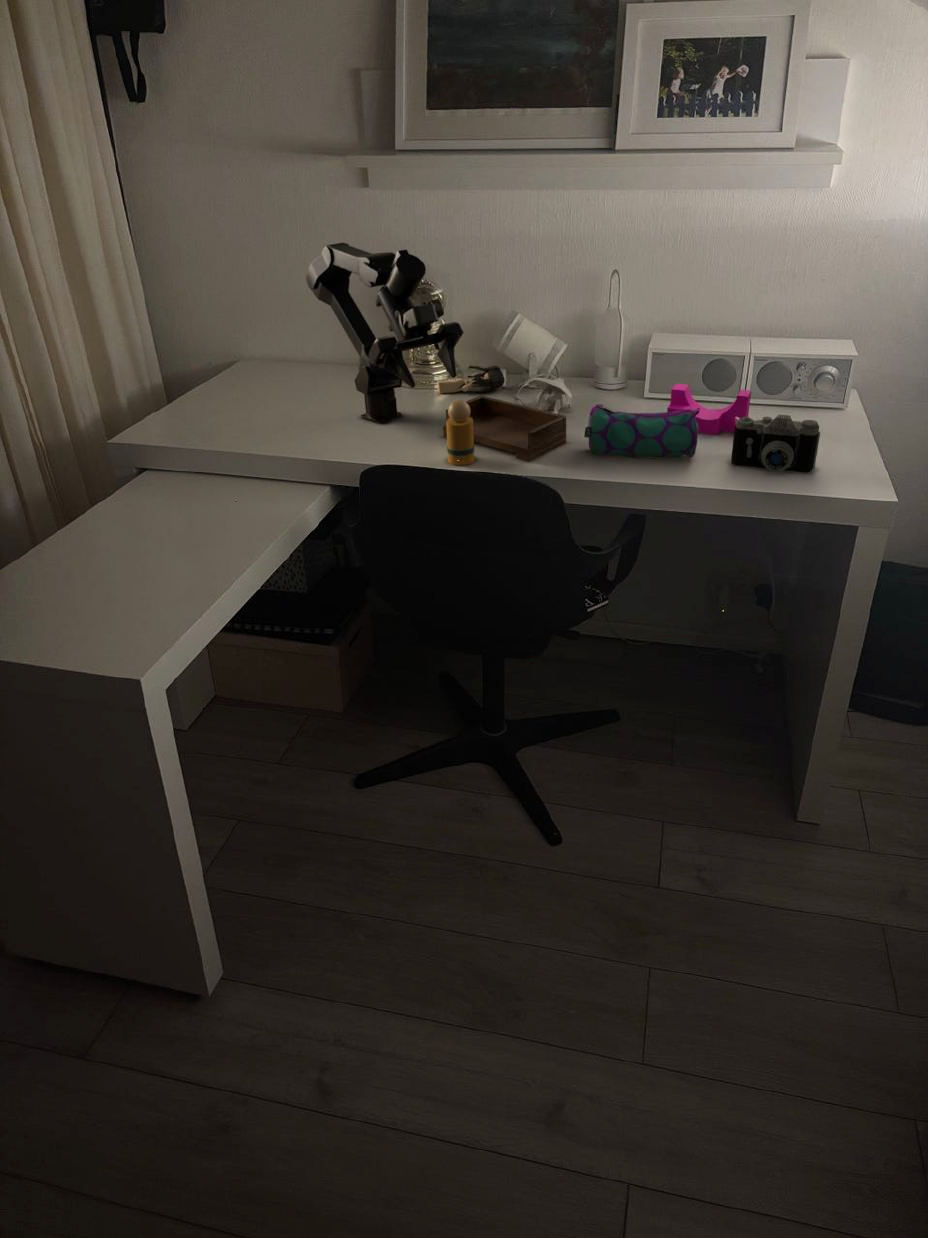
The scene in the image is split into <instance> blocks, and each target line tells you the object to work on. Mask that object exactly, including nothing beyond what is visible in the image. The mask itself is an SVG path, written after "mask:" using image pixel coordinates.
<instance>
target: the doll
mask: <svg viewBox="0 0 928 1238" xmlns="http://www.w3.org/2000/svg"><path fill="white" fill-rule="evenodd" d="M447 409H448V415H449V417H450V418H449V419H447V421H446V420H445V425H447V438H446V441H447V442H446V444H447V445H446V452H447V461H448V463H449V464H450V465H453V466H468V465H471V464H473V463H475V442H474V437H473V419H472V418H470V417H469V416H470V407H469V405H468V404H467V403H466V401H465V400H463V399H456V400H453V401H451V403H450V404H449V406H448V408H447ZM457 460H459V461H457Z"/></svg>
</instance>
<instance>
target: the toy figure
mask: <svg viewBox="0 0 928 1238" xmlns="http://www.w3.org/2000/svg"><path fill="white" fill-rule="evenodd" d="M500 368H501V367H500V365H498V364H497V365H490V366H487V367H482V366H479V365H472V364H469V366H468V368H467V370H470V369H474V370H477V371H482V372H483V373H477V374H476V373H475V374H474V375H467V377H466V378H462V377H459V378H456V379H452V380H444V379H443V380H436V384H437V392H438V393H440V394H441V393H442V394H443V393H444V394H448V393H449V394H450V393H451V394H454V393H458V392H460V391H463V392H467V391H469V389H471V388H484V389H482V390H481V391H477V390H476V391H473V390H471V391H470V393H471V394H480V395H482V394H484V393H485V392H487V391H488V390H496V391H498V390H500V389H501V388H502V387H503V386H504V384H505V381H506V380H505V379H506V378H505V376H504V373H503V372H502V370H501V369H500Z"/></svg>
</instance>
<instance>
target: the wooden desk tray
mask: <svg viewBox="0 0 928 1238" xmlns="http://www.w3.org/2000/svg"><path fill="white" fill-rule="evenodd" d="M465 402H466V403H467V404H468V405H469V407H470V416H469V417H470V418H472V419H473V437H474V443H478V444H481V445H484V446H489V447H492V448H495V449H499V450H502V451H506V452H510V453H514V454H515V455H516V458H515V459H517V460H521V461H523V462H524V461H525V462H528V463H529V462H532V461H533V460H535V459H537V458H539V457H542V456H543V455H546V453H549V452H551V451H553V450H556V449H557V448H559V447H561V446H563V445H565V444H567V418H568V416H567V415H562V414H559V413H558V414H555V413H554V412H550V411H548V410H546V411H543V410H539V409H538V408H534V407H530V406H526V405H522V404H518V403H514V402H509V401H506V400H502V399H497V398H494V397H491V396H490V397H489V396H486V395H482V394H480V395H478V396H475V397H473V398H471V399H468V400H466V401H465ZM449 418H450V417H449V415H448V408H447V409H445V422H446V421H447V419H449ZM442 433H443V434H442V435H443V438H444V439H447V425H446V424H443V425H442Z"/></svg>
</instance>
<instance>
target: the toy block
mask: <svg viewBox="0 0 928 1238" xmlns="http://www.w3.org/2000/svg"><path fill="white" fill-rule="evenodd" d="M751 396H752V390H748V389H740V390H739V392H738V393H737V396H736V398H735V400H734V401H733V402H732V403H731V404H729V405H728V406H726V407H723V408H718V409H713V408H708V407H705V406H704V405H701V404H700V403H698V402H697V400H696V399H695V398H694V397H693V395H692V393H691V389H690V385H689V384H684V383H675V384H674V386H673V387H672V388H671V390H670V402H669V405H667V409H666V413H667V412H673V411H678V410H686V409H691V410H693V411H694V410H696V409H698V408H700V411H699V413H698V414H697V415H696V416H695V418H696V421H697V424H698V427H699V431H698V434H705V435H714V436H718V435H719V434H720V432H727V433H734V430H735V424H736V423H737V422H738V419H740V418H743V417H746V416H747V417H748V418H749V413H750V404H751Z"/></svg>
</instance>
